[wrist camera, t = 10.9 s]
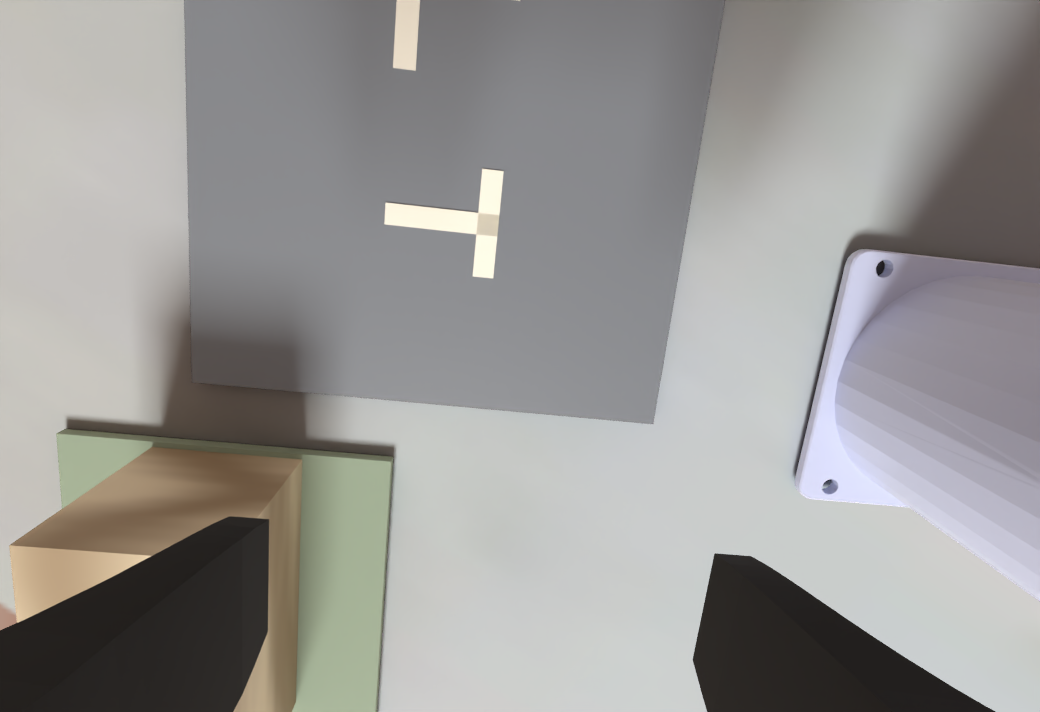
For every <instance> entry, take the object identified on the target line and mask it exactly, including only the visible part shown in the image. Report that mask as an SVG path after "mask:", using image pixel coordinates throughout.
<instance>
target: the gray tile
mask: <svg viewBox="0 0 1040 712" xmlns="http://www.w3.org/2000/svg"><path fill="white" fill-rule="evenodd" d="M724 4H725V0H184V19H185V68H186V118H187V168H188V218H189V267H190V317H191V367H192V382H193V383H204V384H215V385H226V386H237V387H248V388H259V389H270V390H281V391H292V392H303V393H314V394H325V395H336V396H348V397H359V398H370V399H381V400H392V401H403V402H414V403H425V404H436V405H447V406H458V407H469V408H480V409H491V410H502V411H513V412H524V413H535V414H546V415H557V416H568V417H579V418H590V419H601V420H612V421H623V422H634V423H646V424H653V422H654V416H655V410H656V404H657V398H658V392H659V386H660V380H661V375H662V369H663V363H664V357H665V351H666V345H667V339H668V333H669V328H670V322H671V316H672V310H673V304H674V298H675V292H676V286H677V281H678V275H679V269H680V263H681V257H682V251H683V245H684V239H685V233H686V228H687V222H688V216H689V210H690V204H691V198H692V192H693V186H694V181H695V175H696V169H697V163H698V157H699V151H700V145H701V139H702V133H703V128H704V122H705V116H706V110H707V104H708V98H709V92H710V86H711V81H712V75H713V69H714V63H715V57H716V51H717V45H718V39H719V34H720V28H721V22H722V16H723V10H724Z"/></svg>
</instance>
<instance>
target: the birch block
mask: <svg viewBox="0 0 1040 712" xmlns="http://www.w3.org/2000/svg"><path fill="white" fill-rule="evenodd" d="M301 491H302V460H301V459H289V458H277V457H265V456H254V455H242V454H230V453H218V452H206V451H194V450H183V449H171V448H159V447H151V448H150V449H148V450H147V451H145V452H144V453H143V454H141V455H140V456H138V457H137V458H135V459H134V460H132V461H131V462H129V463H128V464H127V465H125V466H124V467H122V468H121V469H119V470H118V471H116V472H115V473H114V474H112V475H111V476H109V477H108V478H106V479H105V480H103V481H102V482H100V483H99V484H98V485H96V486H95V487H93V488H92V489H90V490H89V491H87V492H86V493H85V494H83V495H82V496H80V497H79V498H77V499H76V500H74V501H73V502H72V503H70V504H69V505H67V506H66V507H64V508H63V509H61V510H60V511H58V512H57V513H56V514H54V515H53V516H51V517H50V518H48V519H47V520H45V521H44V522H43V523H41V524H40V525H38V526H37V527H35V528H34V529H32V530H31V531H29V532H28V533H27V534H25V535H24V536H22V537H21V538H19V539H18V540H16V541H15V542H14V543H12V544H11V545H9V547H10V557H11V567H12V577H13V587H14V597H15V607H16V617H17V623H18V622H20V621H23V620H25V619H27V618H29V617H31V616H33V615H35V614H37V613H39V612H41V611H43V610H46V609H48V608H50V607H52V606H54V605H56V604H58V603H60V602H62V601H64V600H66V599H68V598H70V597H72V596H74V595H76V594H78V593H80V592H83V591H85V590H87V589H89V588H91V587H93V586H95V585H97V584H99V583H101V582H103V581H105V580H107V579H109V578H111V577H113V576H115V575H117V574H119V573H120V572H122V571H124V570H126V569H128V568H130V567H132V566H134V565H136V564H137V563H139V562H141V561H143V560H145V559H147V558H149V557H151V556H153V555H154V554H156V553H158V552H160V551H162V550H164V549H166V548H168V547H170V546H171V545H173V544H175V543H177V542H179V541H181V540H183V539H184V538H186V537H188V536H190V535H192V534H194V533H196V532H198V531H200V530H202V529H203V528H205V527H207V526H209V525H211V524H213V523H216V522H218V521H220V520H222V519H224V518H227V517H229V516H234V517H247V518H260V519H269V584H268V633H267V635H266V638H265V640H264V643H263V645H262V648H261V651H260V653H259V656H258V658H257V661H256V663H255V666H254V668H253V671H252V673H251V675H250V678H249V680H248V682H247V685H246V687H245V690H244V692H243V694H242V696H241V698H240V700H239V702H238V704H237V706H236V708H235V709H234V711H233V712H292V710H293V708H294V705H295V703H296V678H297V640H298V603H299V566H300V528H301Z"/></svg>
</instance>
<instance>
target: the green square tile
mask: <svg viewBox="0 0 1040 712" xmlns="http://www.w3.org/2000/svg"><path fill="white" fill-rule="evenodd" d="M56 436H57V449H58V462H59V475H60V488H61V501H62V509H63V508H64V507H66V506H67V505H69V504H70V503H72V502H73V501H74V500H76V499H77V498H79V497H80V496H82V495H83V494H85V493H86V492H87V491H89V490H90V489H92V488H93V487H95V486H96V485H98V484H99V483H100V482H102V481H103V480H105V479H106V478H108V477H109V476H111V475H112V474H114V473H115V472H116V471H118V470H119V469H121V468H122V467H124V466H125V465H127V464H128V463H129V462H131V461H132V460H134V459H135V458H137V457H138V456H140V455H141V454H143V453H144V452H145V451H147V450H148V449H150V448H151V447H159V448H171V449H183V450H194V451H206V452H218V453H230V454H242V455H254V456H265V457H277V458H289V459H301V460H302V491H301V528H300V566H299V603H298V640H297V678H296V703H295V705H294V708H293V710H292V712H377V705H378V690H379V674H380V658H381V643H382V627H383V611H384V595H385V580H386V564H387V548H388V532H389V517H390V501H391V485H392V470H393V457H392V456H380V455H368V454H356V453H345V452H333V451H321V450H309V449H297V448H286V447H274V446H262V445H250V444H238V443H227V442H215V441H203V440H191V439H179V438H168V437H156V436H144V435H132V434H120V433H109V432H97V431H85V430H73V429H64V430H62V431H60V432H59V433H57V434H56Z"/></svg>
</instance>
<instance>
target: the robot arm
mask: <svg viewBox="0 0 1040 712" xmlns="http://www.w3.org/2000/svg"><path fill="white" fill-rule="evenodd" d="M882 260H883V262H884V263H885V269H884V271H883V273H882V274H880V275H879V276H878V275H877V273H876V267H877V265H878V263H879V262H881V261H882ZM830 479H831V484H830V486H828V487H827V488H824V489H822V485H823V484H824V482H825V481H827V480H830ZM795 487H796V489H797V490H798V491H799V492H800V493H801V494H802V495H803V496H804V497H806V498H809V499H816V500H828V501H840V502H852V503H864V504H876V505H888V506H900V507H909V508H911V509H912V510H913V511H915V512H916V513H918V514H919V515H920V516H922V517H923V518H924V519H926V520H927V521H929V522H930V523H931V524H933V525H934V526H936V527H937V528H938V529H940V530H941V531H943V532H944V533H945V534H947V535H948V536H949V537H951V538H952V539H954V540H955V541H956V542H958V543H959V544H961V545H962V546H963V547H965V548H966V549H967V550H969V551H970V552H972V553H973V554H974V555H976V556H977V557H979V558H980V559H981V560H983V561H984V562H986V563H987V564H988V565H990V566H991V567H992V568H994V569H995V570H997V571H998V572H999V573H1001V574H1002V575H1004V576H1005V577H1006V578H1008V579H1009V580H1010V581H1012V582H1013V583H1015V584H1016V585H1017V586H1019V587H1020V588H1022V589H1023V590H1024V591H1026V592H1027V593H1029V594H1030V595H1031V596H1033V597H1034V598H1035V599H1037V600H1038V601H1040V268H1031V267H1022V266H1013V265H1004V264H995V263H987V262H978V261H969V260H960V259H951V258H942V257H933V256H924V255H915V254H906V253H897V252H888V251H880V250H871V249H859V250H857V251H855V252H853V253H852V254H851V255H850V256H849V257H848V259H847V261H846V264H845V267H844V272H843V276H842V280H841V285H840V289H839V293H838V297H837V302H836V306H835V310H834V315H833V319H832V323H831V327H830V332H829V336H828V340H827V344H826V349H825V353H824V357H823V362H822V366H821V370H820V374H819V379H818V383H817V387H816V391H815V396H814V400H813V404H812V409H811V413H810V417H809V421H808V426H807V430H806V434H805V438H804V443H803V447H802V451H801V456H800V460H799V464H798V468H797V473H796V477H795ZM268 584H269V519H260V518H247V517H234V516H229V517H227V518H224V519H222V520H220V521H218V522H216V523H213V524H211V525H209V526H207V527H205V528H203V529H202V530H200V531H198V532H196V533H194V534H192V535H190V536H188V537H186V538H184V539H183V540H181V541H179V542H177V543H175V544H173V545H171V546H170V547H168V548H166V549H164V550H162V551H160V552H158V553H156V554H154V555H153V556H151V557H149V558H147V559H145V560H143V561H141V562H139V563H137V564H136V565H134V566H132V567H130V568H128V569H126V570H124V571H122V572H120V573H119V574H117V575H115V576H113V577H111V578H109V579H107V580H105V581H103V582H101V583H99V584H97V585H95V586H93V587H91V588H89V589H87V590H85V591H83V592H80V593H78V594H76V595H74V596H72V597H70V598H68V599H66V600H64V601H62V602H60V603H58V604H56V605H54V606H52V607H50V608H48V609H46V610H43V611H41V612H39V613H37V614H35V615H33V616H31V617H29V618H27V619H25V620H23V621H20V622H18V623H16V624H14V625H12V626H9V627H7V628H5V629H3V630H0V712H233V711H234V709H235V708H236V706H237V704H238V702H239V700H240V698H241V696H242V694H243V692H244V690H245V687H246V685H247V682H248V680H249V678H250V675H251V673H252V671H253V668H254V666H255V663H256V661H257V658H258V656H259V653H260V651H261V648H262V645H263V643H264V640H265V638H266V635H267V633H268ZM693 662H694V666H695V669H696V673H697V677H698V681H699V684H700V688H701V692H702V695H703V699H704V702H705V705H706V709H707V712H995V711H993V710H991V709H990V708H988V707H986V706H984V705H982V704H981V703H979V702H977V701H975V700H974V699H972V698H970V697H969V696H967V695H965V694H963V693H962V692H960V691H958V690H957V689H955V688H953V687H952V686H950V685H948V684H947V683H945V682H943V681H942V680H940V679H939V678H937V677H935V676H934V675H932V674H931V673H929V672H927V671H926V670H924V669H923V668H921V667H919V666H918V665H916V664H915V663H913V662H911V661H910V660H908V659H906V658H905V657H903V656H902V655H900V654H899V653H897V652H896V651H894V650H892V649H891V648H889V647H888V646H886V645H885V644H883V643H882V642H880V641H879V640H877V639H876V638H874V637H873V636H871V635H870V634H868V633H867V632H865V631H864V630H862V629H861V628H859V627H858V626H856V625H855V624H853V623H852V622H850V621H849V620H847V619H846V618H844V617H843V616H841V615H840V614H839V613H837V612H836V611H834V610H833V609H831V608H830V607H828V606H827V605H825V604H824V603H822V602H821V601H820V600H818V599H817V598H815V597H814V596H812V595H811V594H809V593H808V592H806V591H805V590H804V589H802V588H801V587H799V586H798V585H796V584H795V583H793V582H792V581H790V580H789V579H787V578H786V577H784V576H783V575H781V574H780V573H778V572H777V571H775V570H773V569H772V568H770V567H769V566H767V565H765V564H764V563H762V562H760V561H758V560H757V559H755V558H753V557H751V556H740V555H727V554H715V555H714V559H713V564H712V569H711V574H710V579H709V584H708V589H707V593H706V598H705V603H704V608H703V613H702V618H701V622H700V627H699V632H698V637H697V642H696V647H695V652H694V656H693Z"/></svg>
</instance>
